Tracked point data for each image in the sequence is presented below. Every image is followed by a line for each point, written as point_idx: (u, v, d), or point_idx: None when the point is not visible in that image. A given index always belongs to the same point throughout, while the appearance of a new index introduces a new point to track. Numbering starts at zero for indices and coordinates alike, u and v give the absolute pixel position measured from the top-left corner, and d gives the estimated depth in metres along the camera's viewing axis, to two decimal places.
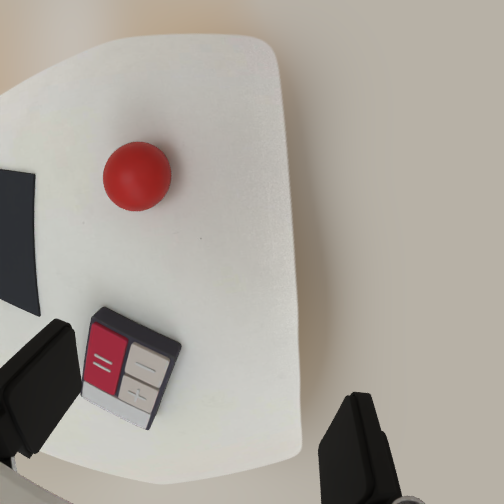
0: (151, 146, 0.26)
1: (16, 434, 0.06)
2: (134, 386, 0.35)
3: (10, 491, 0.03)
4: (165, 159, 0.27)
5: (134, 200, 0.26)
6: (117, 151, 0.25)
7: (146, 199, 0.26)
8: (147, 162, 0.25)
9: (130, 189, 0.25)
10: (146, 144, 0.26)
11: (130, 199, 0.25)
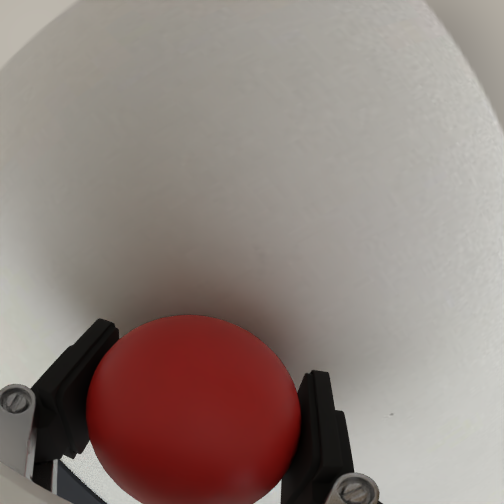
0: (181, 342, 0.07)
1: (64, 435, 0.07)
2: None
3: (9, 492, 0.03)
4: (252, 353, 0.08)
5: None
6: (91, 409, 0.07)
7: (269, 490, 0.07)
8: (210, 431, 0.06)
9: None
10: (161, 344, 0.07)
11: None
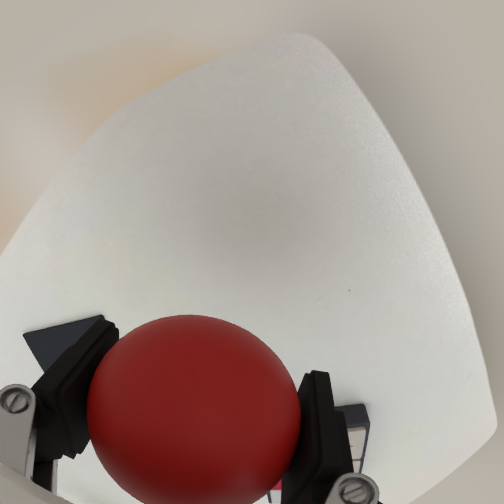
0: (182, 342, 0.07)
1: (64, 435, 0.07)
2: None
3: (9, 492, 0.03)
4: (252, 353, 0.08)
5: None
6: (91, 409, 0.07)
7: (269, 490, 0.07)
8: (210, 431, 0.06)
9: None
10: (161, 344, 0.07)
11: None
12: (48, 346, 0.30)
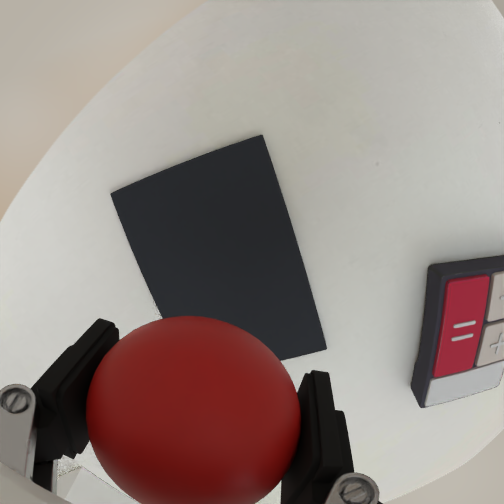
0: (182, 343, 0.07)
1: (64, 436, 0.07)
2: (497, 332, 0.23)
3: (9, 492, 0.03)
4: (252, 354, 0.08)
5: None
6: (91, 410, 0.07)
7: (269, 491, 0.07)
8: (210, 433, 0.06)
9: None
10: (161, 345, 0.07)
11: None
12: (156, 199, 0.26)
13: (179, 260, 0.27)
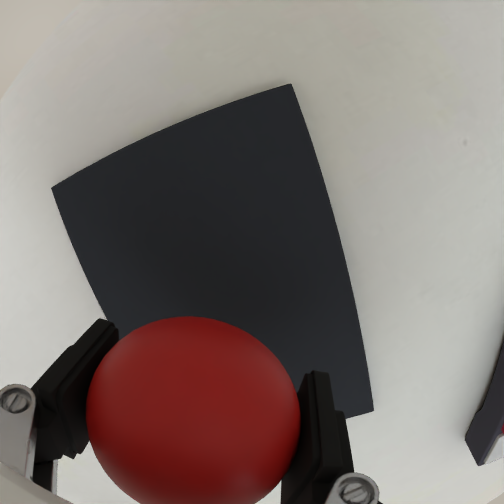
0: (181, 344, 0.07)
1: (64, 436, 0.07)
2: None
3: (9, 492, 0.03)
4: (252, 355, 0.08)
5: None
6: (91, 410, 0.07)
7: (269, 491, 0.07)
8: (210, 434, 0.06)
9: None
10: (161, 346, 0.07)
11: None
12: (115, 194, 0.15)
13: (154, 293, 0.17)
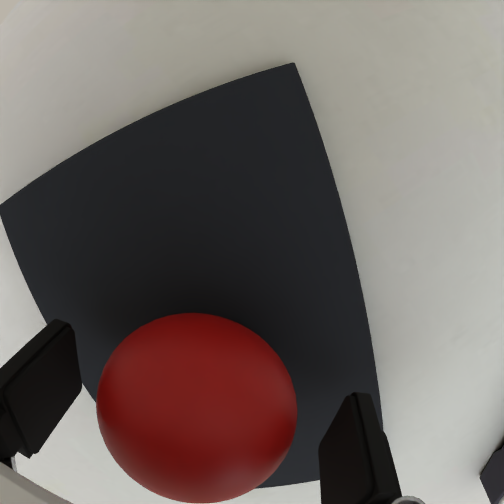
0: (185, 342, 0.08)
1: (16, 434, 0.06)
2: None
3: (9, 491, 0.03)
4: (251, 351, 0.08)
5: (237, 496, 0.07)
6: (101, 404, 0.07)
7: (266, 478, 0.08)
8: (211, 425, 0.06)
9: (213, 497, 0.07)
10: (166, 343, 0.08)
11: None
12: (64, 217, 0.11)
13: (119, 340, 0.13)
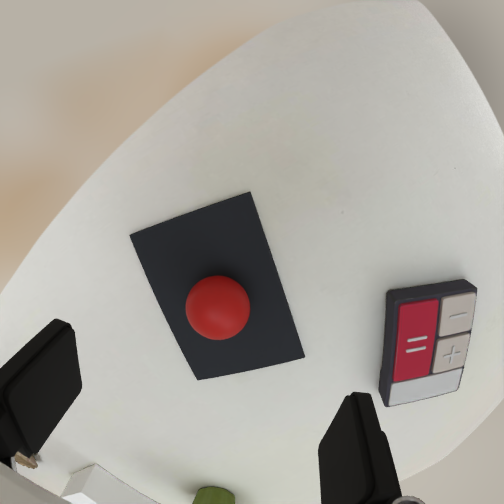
0: (216, 282, 0.30)
1: (16, 434, 0.06)
2: (449, 345, 0.31)
3: (9, 492, 0.03)
4: (234, 285, 0.30)
5: (230, 334, 0.30)
6: (190, 302, 0.29)
7: (239, 327, 0.30)
8: (223, 303, 0.29)
9: (223, 330, 0.29)
10: (211, 283, 0.30)
11: (226, 335, 0.30)
12: (167, 241, 0.33)
13: (186, 288, 0.35)
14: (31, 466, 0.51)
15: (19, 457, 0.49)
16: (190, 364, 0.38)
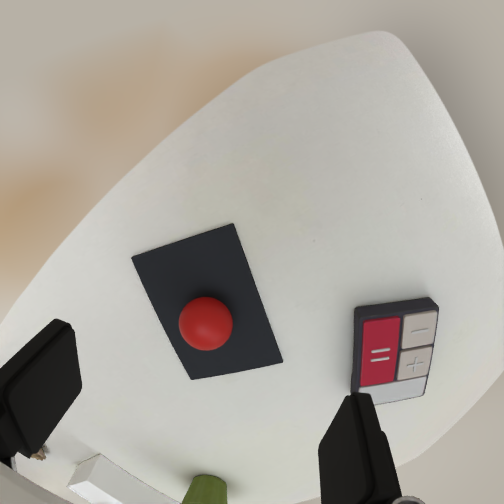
0: (202, 306, 0.35)
1: (16, 434, 0.06)
2: (412, 356, 0.36)
3: (9, 492, 0.03)
4: (218, 308, 0.36)
5: (215, 347, 0.36)
6: (182, 322, 0.35)
7: (222, 342, 0.36)
8: (208, 324, 0.34)
9: (208, 345, 0.35)
10: (198, 306, 0.35)
11: (212, 348, 0.35)
12: (163, 264, 0.39)
13: (180, 303, 0.40)
14: (39, 458, 0.58)
15: None
16: (185, 366, 0.44)
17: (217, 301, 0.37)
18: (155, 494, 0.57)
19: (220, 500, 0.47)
